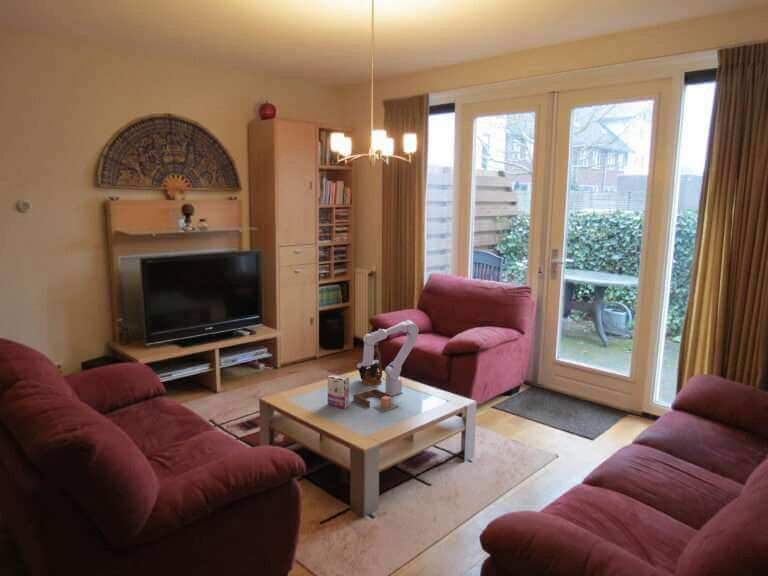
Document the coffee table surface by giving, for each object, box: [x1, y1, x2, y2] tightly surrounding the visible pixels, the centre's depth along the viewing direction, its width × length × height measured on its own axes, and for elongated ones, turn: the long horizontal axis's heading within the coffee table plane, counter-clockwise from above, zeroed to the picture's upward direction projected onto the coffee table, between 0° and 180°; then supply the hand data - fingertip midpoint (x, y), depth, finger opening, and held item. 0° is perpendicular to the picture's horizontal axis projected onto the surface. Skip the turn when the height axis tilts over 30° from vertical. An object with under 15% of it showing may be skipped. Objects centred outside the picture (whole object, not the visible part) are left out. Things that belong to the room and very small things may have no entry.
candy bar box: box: [327, 374, 350, 410], centre depth 294 cm, size 11×5×16 cm, turn 62°
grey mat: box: [372, 402, 400, 413], centre depth 295 cm, size 12×8×1 cm, turn 132°
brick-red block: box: [380, 396, 392, 408], centre depth 295 cm, size 4×4×5 cm
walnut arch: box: [352, 388, 391, 409], centre depth 304 cm, size 16×13×4 cm
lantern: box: [360, 342, 383, 387], centre depth 332 cm, size 17×13×30 cm
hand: (367, 377), depth 311 cm, fingers open, 7 cm apart
